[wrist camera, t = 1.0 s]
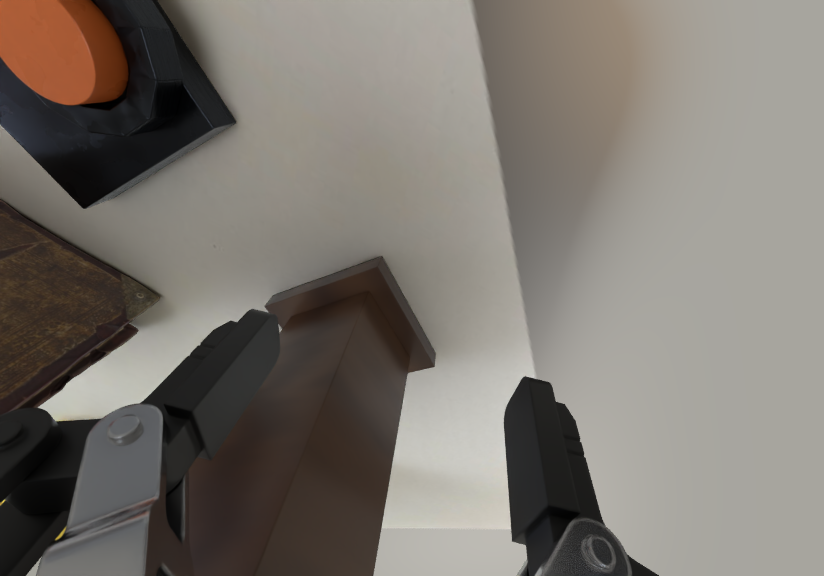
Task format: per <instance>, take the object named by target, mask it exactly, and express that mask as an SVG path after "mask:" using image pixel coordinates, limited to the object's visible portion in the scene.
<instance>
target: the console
mask: <svg viewBox="0 0 824 576" xmlns="http://www.w3.org/2000/svg"><path fill="white" fill-rule="evenodd" d="M91 1H92V2H93V3H94V4H95V5H96V6H97V7H98V8H99V9H100V10H101V11H102V12H103V14H104V15H105V16H106V17H107V19H108V20H109V21H110V23H111V24H112V26H113V27H114V29H115V31H116V33H117V34H118V36H119V38H120V41H121V43H122V47H123V50H124V53H125V56H126V59H127V62H128V70H129V76H128V83H127V86H126V89H125V91H124V92H123V94H122V95H121V96H120V97H119V98H117V99H115V100H113V101H109V102H100V103H91V104H81V105H64V104H59V103H56V102H53V101H51V100H49V99H47V98H45V97H43V96H41V95H39V94H38V93H36V92H35V91H34V90H32V89H31V88H30V87H28V86H27V85H26V84H25V83H24V82H22V81H21V80H20V79H19V78H18V77H17V76H16V75H15V74H14V73H13V72H12V71H11V69H10V68H9V67H8V66H7V65H6V64H5V62H4V61H3V59H2V58H1V57H0V125H1V126H2V127H3V128H4V129H5V130H6V131H7V132H8V133H9V134H10V135H11V136H12V137H13V138H14V139H15V140H16V141H17V142H18V143H19V144H20V145H21V146H22V147H23V148H24V149H25V150H26V151H27V152H28V153H29V154H30V155H31V156H32V157H33V158H34V159H35V160H36V161H37V162H38V163H39V164H40V165H41V166H42V167H43V168H44V169H45V170H46V171H47V172H48V173H49V174H50V175H51V177H52V178H53V179H54V180H55V181H56V182H57V183H58V184H59V185H60V186H61V187H62V188H63V189H64V190H65V191H66V192H67V193H68V194H69V195H70V196H71V197H72V198H73V199H74V200H75V201H76V202H77V203H78V204H79V205H80V206H81V207H82V208H83V209H86V208H89V207H92V206H94V205H97V204H99V203H102V202H105V201H107V200H110V199H112V198H114V197H116V196H117V195H119V194H121V193H122V192H124V191H125V190H127V189H129V188H130V187H132V186H134V185H135V184H137V183H139V182H140V181H142V180H144V179H145V178H147V177H148V176H150V175H152V174H153V173H155V172H157V171H158V170H160V169H162V168H163V167H165V166H166V165H168V164H170V163H171V162H173V161H175V160H176V159H178V158H180V157H181V156H183V155H184V154H186V153H188V152H189V151H191V150H193V149H194V148H196V147H198V146H199V145H201V144H202V143H204V142H206V141H207V140H209V139H211V138H212V137H214V136H216V135H217V134H219V133H221V132H222V131H224V130H225V129H227V128H229V127H230V126H232V125H234V124H235V123H236V121H235V119H234V118H233V116H232V115H231V113H230V112H229V110H228V109H227V107H226V106H225V104H224V103H223V101H222V100H221V98H220V96H219V95H218V93H217V92H216V90H215V89H214V87H213V86H212V84H211V83H210V81H209V80H208V78H207V76H206V75H205V73H204V72H203V70H202V69H201V67H200V66H199V64H198V63H197V61H196V60H195V58H194V57H193V55H192V53H191V52H190V50H189V49H188V47H187V46H186V44H185V43H184V41H183V40H182V38H181V37H180V35H179V33H178V32H177V30H176V29H175V27H174V26H173V24H172V23H171V21H170V20H169V18H168V17H167V15H166V14H165V12H164V10H163V9H162V7H161V6H160V4H159V3H158V1H157V0H91Z"/></svg>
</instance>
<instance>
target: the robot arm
mask: <svg viewBox="0 0 824 576" xmlns="http://www.w3.org/2000/svg"><path fill="white" fill-rule="evenodd" d="M279 354H280V338H279V327H278V318H277V316H276V315H275V314H272V313H267V312H263V311H259V310H255V309H251V310H249V311H248V312H247V313H246V314H245V315H244V316H243V317H242V318H241V319H240V320H239V321H238V322H234V321H229V322H227V323H225V324H224V325H222V326H220V327H218V328H216V329H215V330H213V331H212V332H211V333H210V334H209V335H208V336H207V337H206V338H205V339H204V340H203V341H202V342H201V345H200V346H199V345H198V346H197V347H196V348H195V349H194V350H193V351H192V352H191V354H190V356H188V357H187V358H186V359H185V360H184V361H183V362H182V363H181V364H180V365H179V366H178V367H177V368H176V369H175V370H174V371H173V372H172V373H171V374H170V375H169V376H168V377H167V378H166V379H165V380H164V381H163V382H162V383H161V384H160V385H159V386H158V387H157V388H156V389H155V390H154V391H153V392H152V393H151V394H150V395H149V396H148V397H147V398H146V399H145V400H144V401H142V402H141V403H140V404H132V405H128V406H125V407H122V408H119V409H117V410H115V411H113V412H111V413H109V414H108V415H106V416H105V417H104V418H102V419H90V420H73V421H55V420H54V419H53V418H52V417H51V415H50V414H49V413H48V412H47V411H45V410H43V409H40V408H23V409H17V410H13V411H10V412H7V413H4V414H1V415H0V503H1V502H2V501H3V500H4V499H5V501H4V502H3V503H2V504H1V505H0V576H26V575H27V573H28V572H29V571H30V570H31V568H32V567H33V566H34V565H35V564H36V562H37V561H38V560H39V559H40V558H41V556H42V558H41V560H40V563H39V566H38V570H37V574H36V576H194V567H193V561H192V557H191V552H190V543H189V471H188V469H189V468H190V467H191V465H192V464H193V462H194V461H195V459H196V458H197V457H199V458H203V459H207V460H210V461H211V460H212V459H213V457H214V456H215V454H216V453H217V451H218V450H219V448H220V447H221V445H222V444H223V442H224V441H225V439H226V438H227V436H228V435H229V433H230V432H231V430H232V429H233V427H234V426H235V424H236V423H237V421H238V420H239V418H240V417H241V415H242V414H243V412H244V411H245V409H246V408H247V406H248V405H249V403H250V402H251V400H252V399H253V397H254V396H255V394H256V393H257V391H258V390H259V388H260V387H261V385H262V384H263V382H264V381H265V379H266V378H267V376H268V375H269V373H270V372H271V370H272V369H273V367H274V366H275V364H276V362H277V360H278V357H279ZM504 433H505V447H506V461H507V475H508V489H509V503H510V517H511V532H512V541H513V542H516V543H520V544H524V545H526V549H527V560H526V561H525V563H524V564H523V566H522V568H521V569H520V571H519V572H518V574H517V576H659V575H657V574H655V573H654V572H652V571H651V570H649V569H648V568H646V567H644V566H643V565H641V564H640V563H638V562H636V561H635V560H634V559H632V558H631V557H629V555H627V554H626V552H625V550H624V548H623V546H622V545H621V543H620V541H619V540H618V539H617V537H616V536H615V535H614V534H613V533H612V532H611V531H610V530H609V529H608V528H607V527H606V526H605V524H604V522H603V520H602V517H601V514H600V510H599V506H598V503H597V499H596V495H595V491H594V488H593V484H592V480H591V477H590V473H589V469H588V466H587V462H586V458H585V457H584V451H583V447H582V444H581V442H580V436H579V432H578V429H577V425H576V421H575V420H574V418H573V416H572V415H571V413H570V412H569V410H568V409H567V407H566V406H565V404H562V403H558V402H556V401H555V397H554V392H553V388H552V385H551V384H550V383H549V382H546V381H542V380H538V379H534V378H530V377H526V376H525V377H523V378H522V380H521V381H520V383H519V385H518V387H517V388H516V390H515V392H514V394H513V395H512V397H511V399H510V401H509V402H508V404H507V407H506V410H505V415H504ZM65 527H66V529H65V532H64V533H63V535H62V536H61V537H60V538H59V539H57V540H55V539H56V538H57V537H58V536H59V535H60V533H61V532H62V531H63V530H64V528H65Z"/></svg>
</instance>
